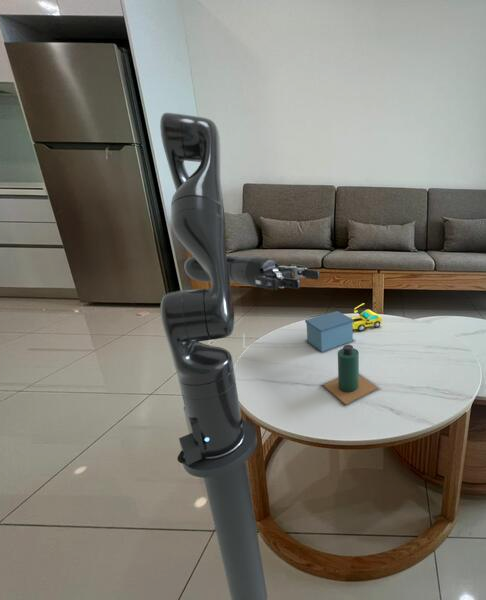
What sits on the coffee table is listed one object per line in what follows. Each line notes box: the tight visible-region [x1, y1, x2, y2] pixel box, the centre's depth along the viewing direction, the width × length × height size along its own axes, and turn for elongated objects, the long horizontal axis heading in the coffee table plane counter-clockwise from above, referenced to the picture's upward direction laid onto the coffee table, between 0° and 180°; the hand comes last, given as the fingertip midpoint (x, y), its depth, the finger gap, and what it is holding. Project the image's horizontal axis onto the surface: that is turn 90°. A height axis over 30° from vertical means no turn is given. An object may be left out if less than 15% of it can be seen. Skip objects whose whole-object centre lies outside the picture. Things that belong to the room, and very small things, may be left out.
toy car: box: [350, 302, 383, 332], centre depth 117 cm, size 12×8×8 cm, turn 120°
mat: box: [322, 374, 378, 406], centre depth 84 cm, size 10×10×1 cm
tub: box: [304, 310, 354, 353], centre depth 106 cm, size 13×10×8 cm
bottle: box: [337, 344, 360, 392], centre depth 82 cm, size 5×5×12 cm
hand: (309, 279), depth 77 cm, fingers open, 8 cm apart
